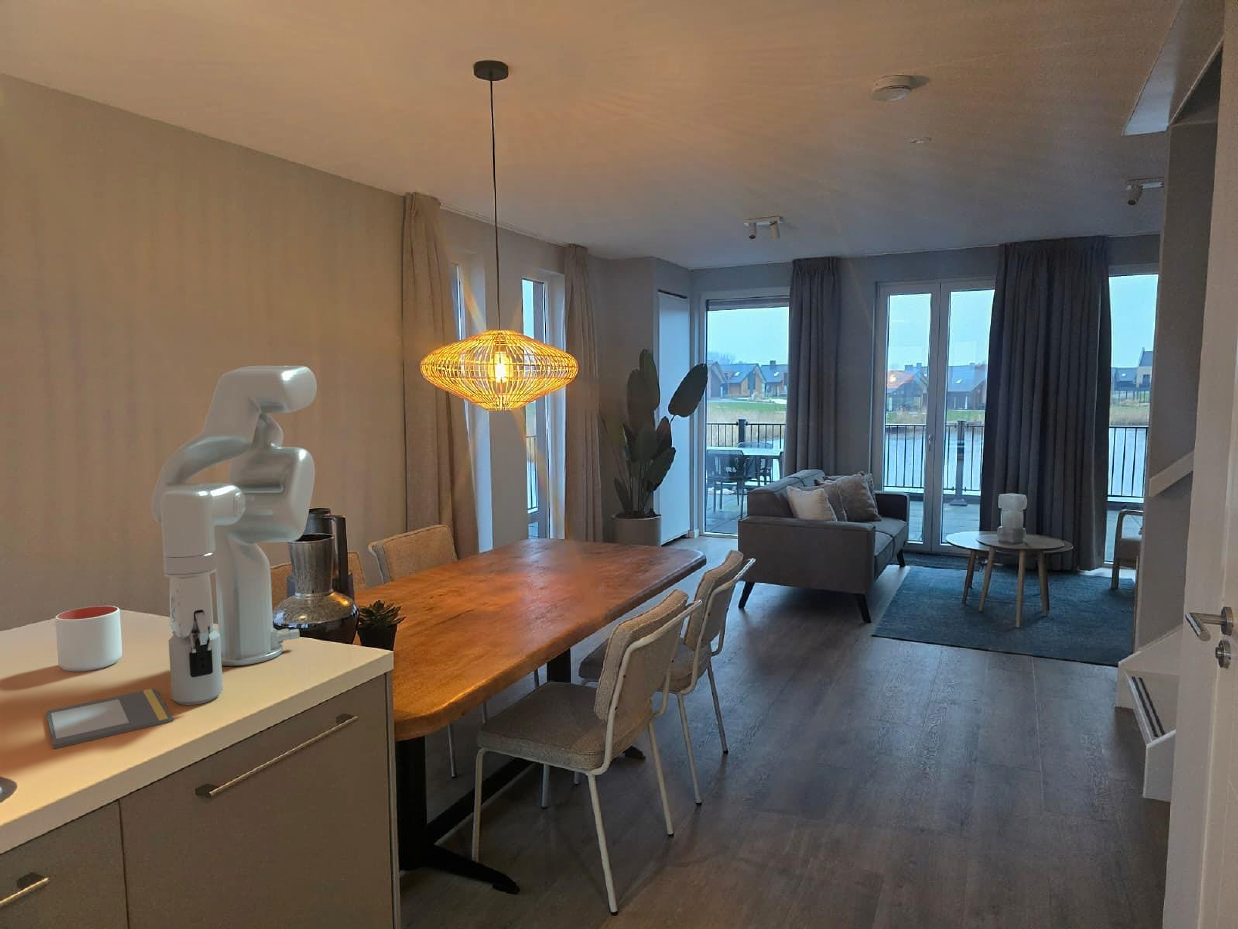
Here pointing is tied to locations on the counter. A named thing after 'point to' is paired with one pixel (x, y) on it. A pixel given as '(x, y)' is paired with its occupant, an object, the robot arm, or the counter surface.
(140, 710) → the mat
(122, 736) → the counter surface
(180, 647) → the can
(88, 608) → the cup
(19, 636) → the counter surface
